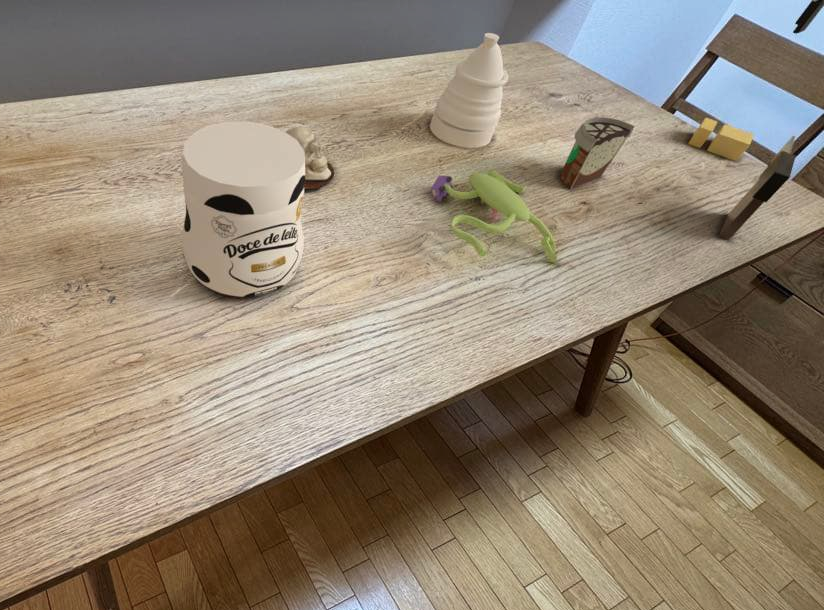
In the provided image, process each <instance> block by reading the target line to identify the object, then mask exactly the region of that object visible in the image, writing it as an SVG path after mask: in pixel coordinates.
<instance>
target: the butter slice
mask: <svg viewBox="0 0 824 610" xmlns="http://www.w3.org/2000/svg"><path fill="white" fill-rule="evenodd" d="M717 124H718V121H717V120H715V119H711V118H708V117H705V118H704V119H703V120H702V122H701V123H700V124H699V126H698V127H697V129H696V130H695V131H694V133H693V134H692V136H691V138H690V140H689V142H688V143H687V144H688V145H691V146H693V147H695V148H699V149H701V147H702V146H703V145H704V144H705V142H706V141H707V140H708V139H709V137H710V136H711V135H712V133H713V131H714V129H715V128H716V126H717Z"/></svg>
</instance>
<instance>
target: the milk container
mask: <svg viewBox="0 0 824 610" xmlns="http://www.w3.org/2000/svg"><path fill="white" fill-rule="evenodd" d="M181 176H182V180H183V182H182V184H183V185H182V187H183V194H184V202H185V217H184V222H183V227H182V233H181V244H182V251H183V255H184V259H185V263H186V265H187V268H188V270H189V271H190V273H191V274H192V275H193V277H194V278H195V279H196V280H197V281H198V282H199V283H200V284H201V285H202V286H203V287H205V288H207V289H209V290H211V291H212V292H215V293H218V294H220V295H223V296H227V297H232V298H240V299H241V298H244V299H246V298H257V297H258V298H259V297H263V296H266V295H269V294H272V293H275V292H277V291H279V290H281V289H282V288H283V287H285V286H286V285H288V283H290V282H291V280H292V279H293V278H294V277H295V276H296V274H297V271H298V269H299V268H300V264H301V262H302V258H303V253H304V247H305V237H304V230H303V225H302V208H303V201H304V195H305V189H304V184H305V153H304V150H303V148H302V147H301V145H300V144H299V142H298V141H297V140H296V139H295V138H293V137H292V136H290V135H289V134H287V133H286V131H284V130H282V129H279V128H277V127H274V126H271V125H268V124H265V123H259V122H252V121H225V122H224V121H223V122H219V123H214V124H209V125H206V126H205V127H203V128H200V129H198V130H196V131H194V132H193V133H192V134H191V135H190V136H189V137H188V138H187V139H186V140H185V142H184V145H183V149H182V156H181Z"/></svg>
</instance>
